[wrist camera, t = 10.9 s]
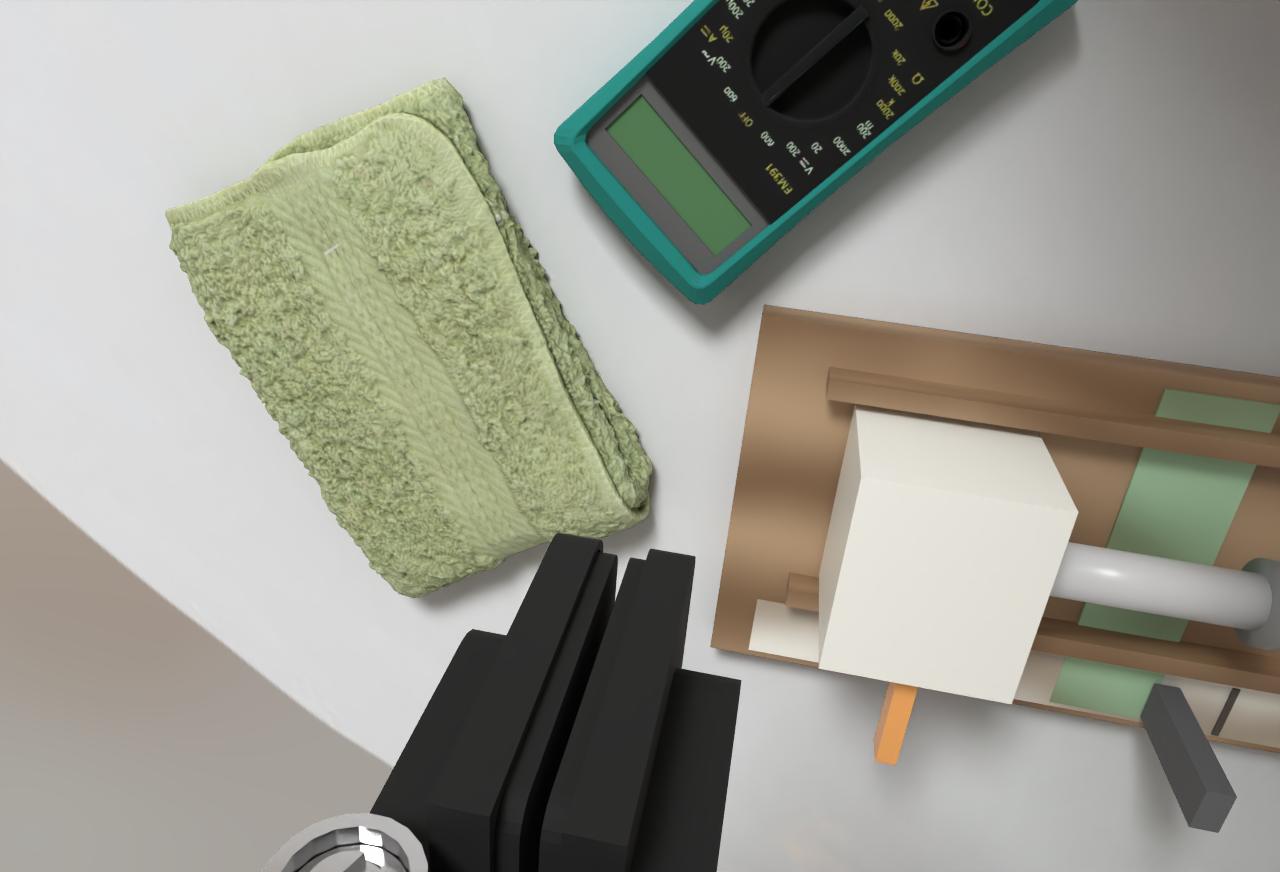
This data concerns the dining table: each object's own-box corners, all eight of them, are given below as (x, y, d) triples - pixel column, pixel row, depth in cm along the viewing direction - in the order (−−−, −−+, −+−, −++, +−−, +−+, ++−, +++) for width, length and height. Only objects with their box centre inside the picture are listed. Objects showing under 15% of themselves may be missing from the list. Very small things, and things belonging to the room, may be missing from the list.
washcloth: (457, 53, 31) (420, 58, 28) (678, 492, 36) (666, 534, 33) (172, 213, 35) (115, 232, 32) (409, 584, 41) (378, 628, 38)
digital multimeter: (1089, -24, 27) (1118, -26, 24) (702, 294, 33) (692, 320, 30) (937, -244, 25) (950, -273, 23) (560, 132, 31) (537, 144, 29)
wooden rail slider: (764, 304, 32) (747, 395, 25) (1735, 441, 28) (2050, 595, 21) (713, 629, 38) (687, 777, 31) (1507, 774, 35) (1689, 982, 27)
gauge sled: (855, 402, 31) (861, 477, 27) (1284, 467, 30) (1375, 560, 25) (800, 659, 36) (797, 763, 31) (1166, 727, 35) (1223, 847, 30)
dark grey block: (1154, 683, 34) (1206, 791, 29) (1180, 687, 34) (1236, 796, 29) (1140, 716, 35) (1189, 826, 30) (1165, 720, 35) (1218, 833, 30)
